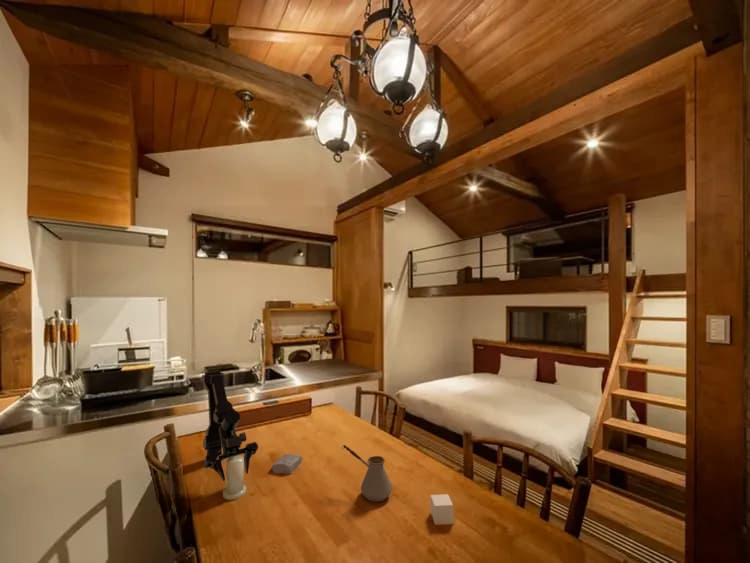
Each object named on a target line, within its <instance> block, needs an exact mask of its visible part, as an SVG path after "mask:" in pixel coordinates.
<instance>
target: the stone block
mask: <svg viewBox="0 0 750 563" xmlns="http://www.w3.org/2000/svg"><path fill="white" fill-rule="evenodd" d="M302 459H303V457H302V454H301V455H300V454H295V453H288V454H284V455H282V456H281V455H280V457H279V458H277V459H276V461H275V462H274V463H273V464H272V466H271V470H272V472H273V474H280V473H282V474H283V473H284V475H285V474H286V475H292V473H293V472H294V471H295V470H296V469H297V468H298V467H299V465H300V464H301V463H302V461H303V460H302Z"/></svg>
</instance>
